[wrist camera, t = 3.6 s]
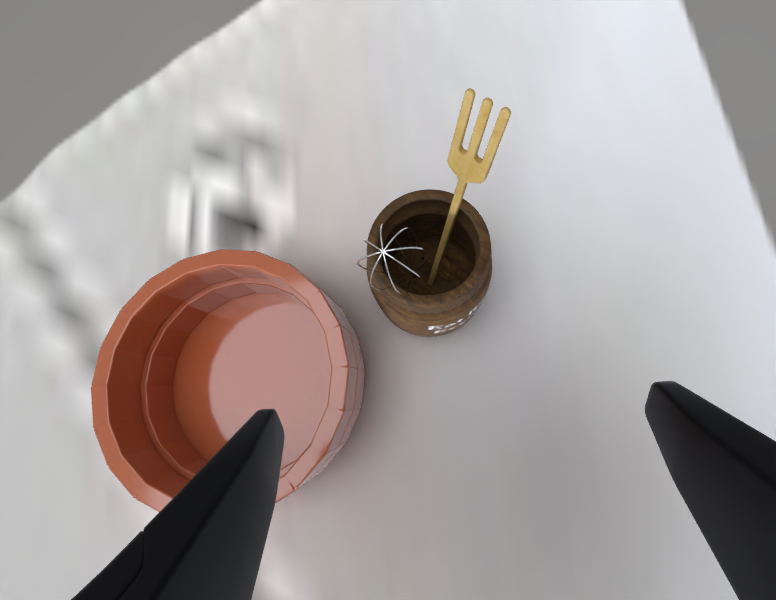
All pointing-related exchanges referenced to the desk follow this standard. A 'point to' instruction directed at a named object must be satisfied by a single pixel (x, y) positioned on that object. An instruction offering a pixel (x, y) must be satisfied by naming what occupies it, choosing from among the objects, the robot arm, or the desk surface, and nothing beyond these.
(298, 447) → the pot
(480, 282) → the utensil holder
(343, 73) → the desk surface
